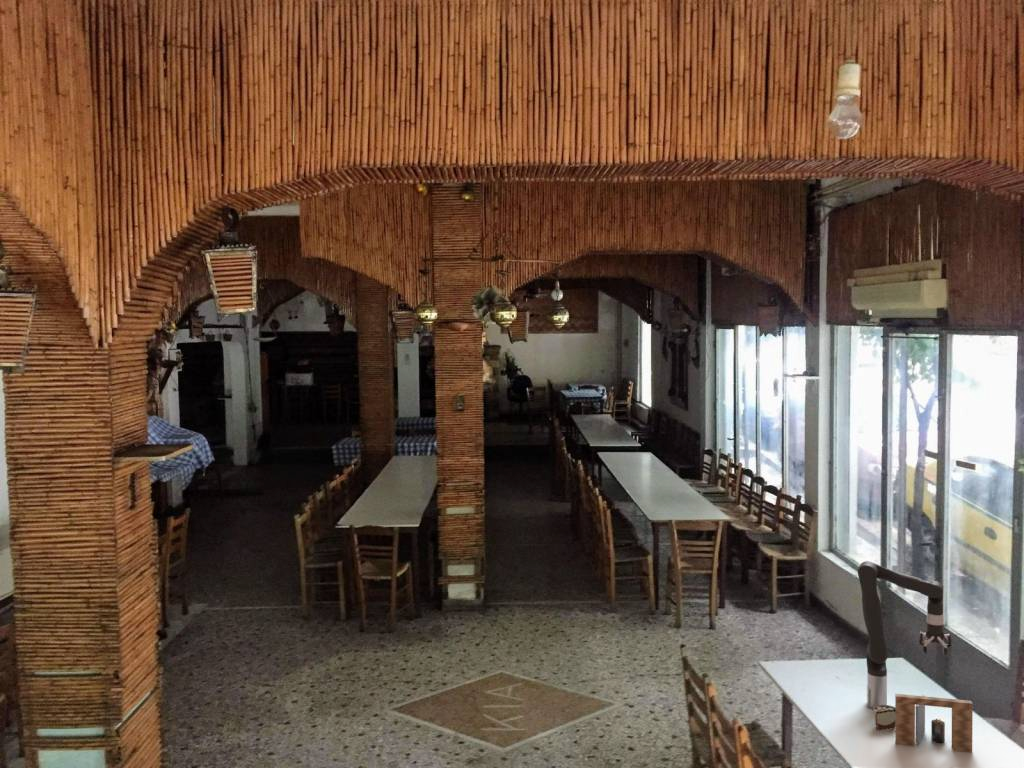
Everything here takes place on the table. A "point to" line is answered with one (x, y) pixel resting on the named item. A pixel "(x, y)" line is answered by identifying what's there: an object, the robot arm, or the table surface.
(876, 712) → the food container
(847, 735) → the table surface
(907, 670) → the table surface
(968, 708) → the door frame
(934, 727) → the pepper mill
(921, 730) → the cabinet door
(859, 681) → the table surface
